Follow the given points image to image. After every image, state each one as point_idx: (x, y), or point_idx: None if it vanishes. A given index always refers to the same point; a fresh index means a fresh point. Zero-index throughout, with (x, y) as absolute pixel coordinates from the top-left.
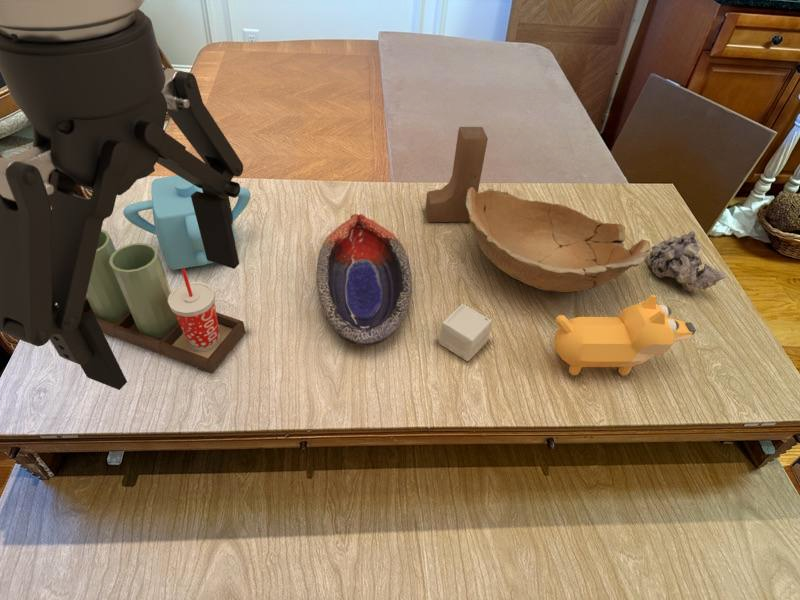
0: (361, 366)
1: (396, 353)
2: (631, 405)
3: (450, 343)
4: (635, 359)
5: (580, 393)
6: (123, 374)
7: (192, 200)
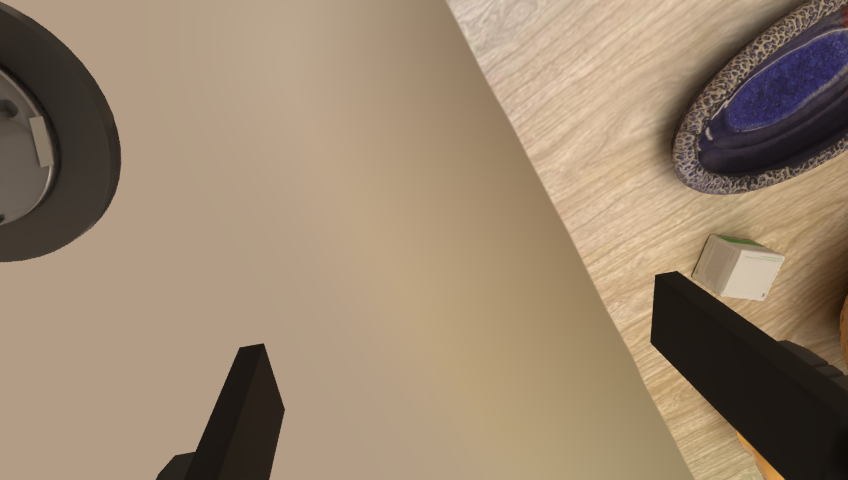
0: (639, 166)
1: (676, 195)
2: (687, 427)
3: (712, 256)
4: (743, 445)
5: (686, 387)
6: (280, 428)
7: (822, 404)
